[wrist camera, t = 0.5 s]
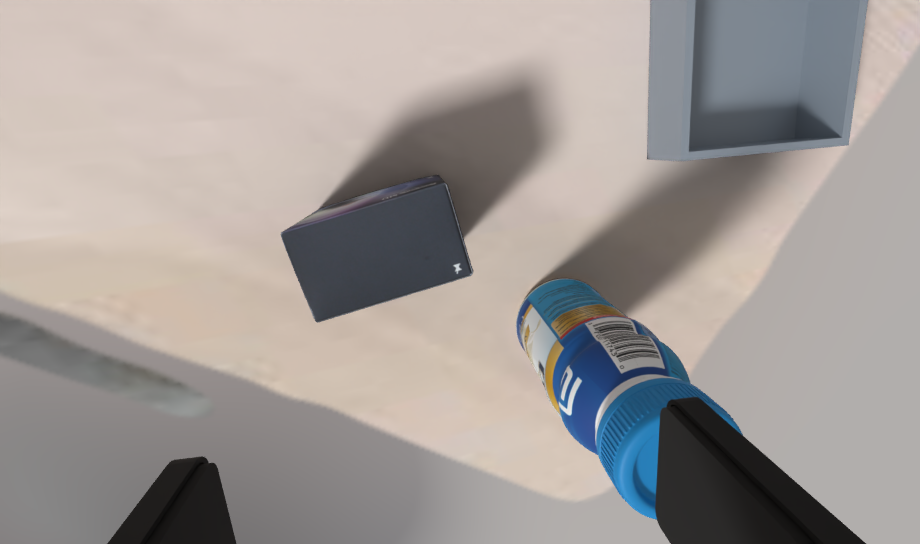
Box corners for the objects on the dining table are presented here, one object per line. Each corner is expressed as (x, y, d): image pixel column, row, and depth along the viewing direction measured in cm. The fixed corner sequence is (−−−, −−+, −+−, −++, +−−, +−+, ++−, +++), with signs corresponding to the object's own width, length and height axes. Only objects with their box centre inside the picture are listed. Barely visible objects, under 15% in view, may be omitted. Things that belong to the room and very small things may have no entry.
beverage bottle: (623, 308, 42) (800, 445, 23) (564, 379, 43) (685, 564, 24) (553, 256, 40) (683, 357, 21) (494, 331, 41) (565, 491, 22)
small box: (438, 168, 37) (449, 176, 27) (461, 244, 39) (478, 278, 29) (312, 206, 37) (275, 229, 27) (340, 281, 39) (316, 329, 29)
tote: (653, -113, 34) (693, -157, 29) (823, -122, 35) (890, -165, 30) (647, 159, 39) (680, 161, 34) (795, 145, 40) (848, 145, 35)
